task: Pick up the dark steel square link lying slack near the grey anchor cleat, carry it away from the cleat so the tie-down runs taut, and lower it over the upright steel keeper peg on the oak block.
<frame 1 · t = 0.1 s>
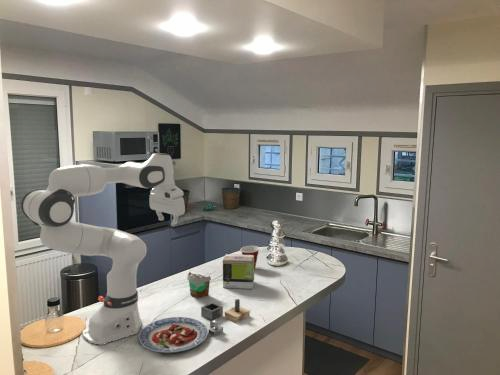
hand: (168, 221, 174), 39 cm above the countertop, tool pointing down, fingers open, 8 cm apart
food container: (196, 296, 192), on the countertop
tea box: (238, 285, 206), on the countertop
plastic cup: (249, 269, 228), on the countertop
anchor cleat: (215, 333, 158), on the countertop
end link: (212, 315, 173), on the countertop
keeper: (237, 316, 172), on the countertop
slack link: (213, 327, 164), on the countertop
ceramic plate: (174, 338, 155), on the countertop
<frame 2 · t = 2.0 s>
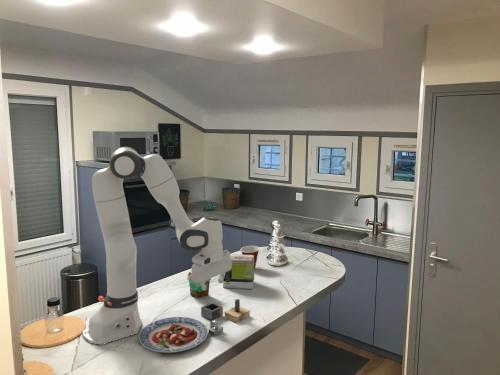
hand: (212, 286, 171), 13 cm above the countertop, tool pointing down, fingers open, 8 cm apart
nothing on the countertop moved.
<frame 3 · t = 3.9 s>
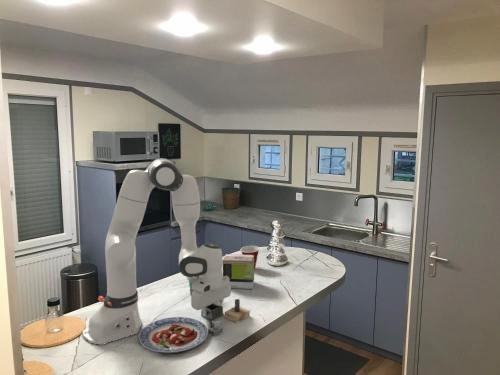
hand: (212, 312, 172), 2 cm above the countertop, tool pointing down, fingers closed on end link, 6 cm apart
end link: (212, 315, 173), on the countertop, touching gripper
everything else where it was.
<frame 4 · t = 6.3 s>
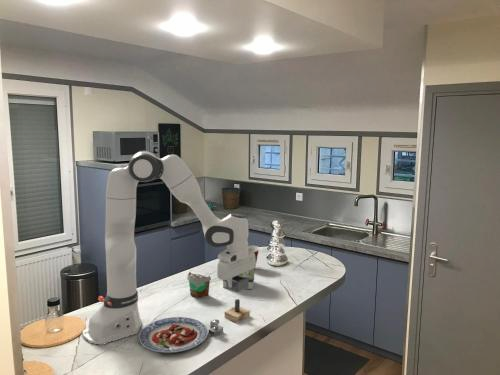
hand: (237, 283, 170), 15 cm above the countertop, tool pointing down, fingers closed on end link, 6 cm apart
end link: (237, 287, 170), point 13 cm above the countertop, touching gripper
everything else where it was.
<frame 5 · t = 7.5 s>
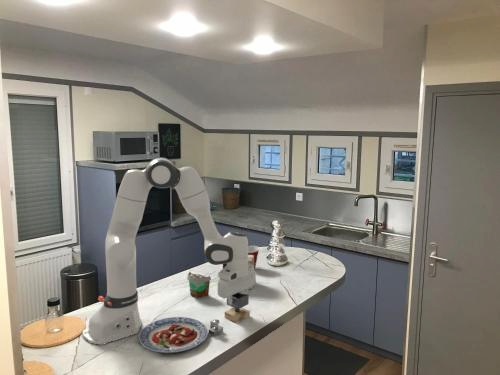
hand: (237, 300, 171), 7 cm above the countertop, tool pointing down, fingers closed on end link, 6 cm apart
end link: (237, 304, 171), point 6 cm above the countertop, touching gripper
everything else where it was.
when the fingers open (6 cm above the countertop, at t = 8.8 s): end link drops 1 cm, resting on keeper.
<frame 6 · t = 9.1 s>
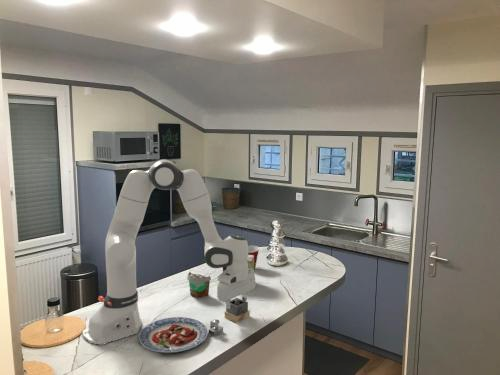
hand: (237, 304, 171), 6 cm above the countertop, tool pointing down, fingers open, 8 cm apart
end link: (237, 311, 172), point 2 cm above the countertop, touching keeper
everything else where it was.
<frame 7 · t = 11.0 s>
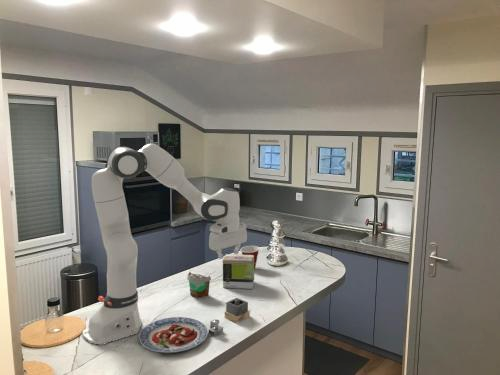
hand: (228, 255, 177), 24 cm above the countertop, tool pointing down, fingers open, 8 cm apart
nothing on the countertop moved.
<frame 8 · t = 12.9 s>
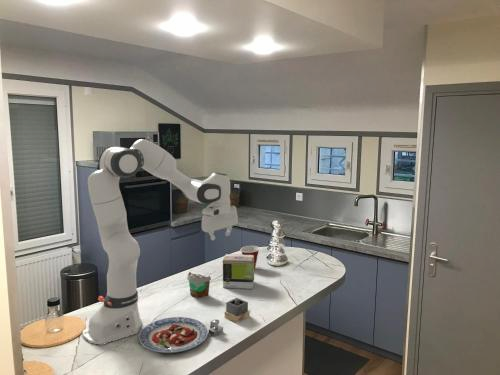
hand: (220, 237, 186), 29 cm above the countertop, tool pointing down, fingers open, 8 cm apart
nothing on the countertop moved.
at the end: end link 0.1 cm off-centre on the keeper, point 2.5 cm above the keeper's base; the gripper is holding nothing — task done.
